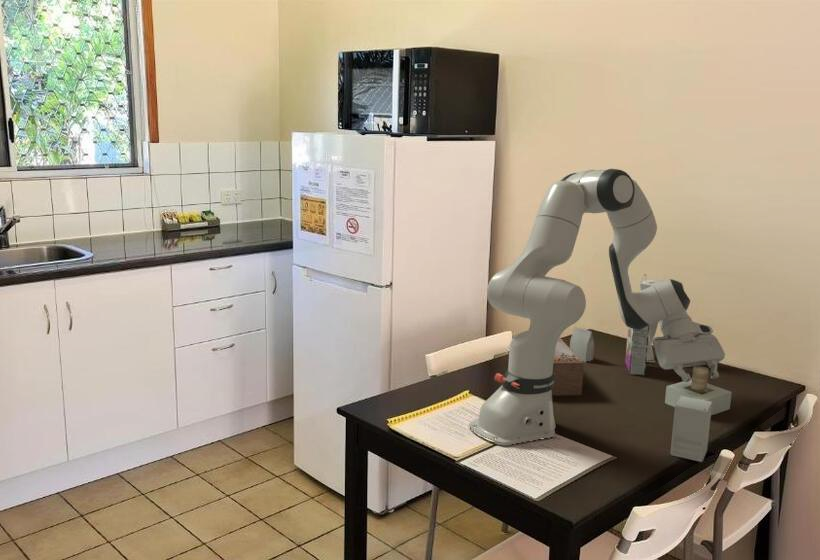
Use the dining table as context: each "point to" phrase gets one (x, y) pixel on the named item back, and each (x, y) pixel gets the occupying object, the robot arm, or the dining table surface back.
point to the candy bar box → (637, 350)
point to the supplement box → (691, 428)
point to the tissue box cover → (566, 371)
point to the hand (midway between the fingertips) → (701, 379)
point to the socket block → (699, 395)
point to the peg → (699, 379)
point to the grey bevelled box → (582, 344)
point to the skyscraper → (652, 326)
